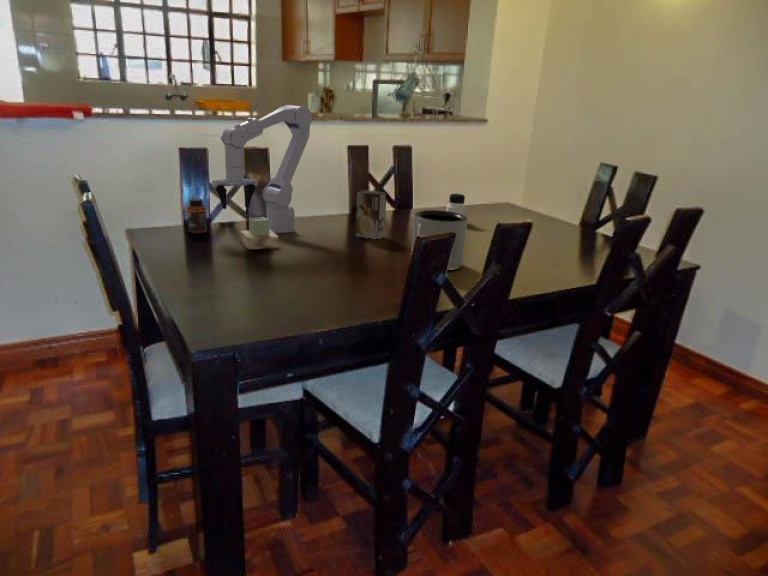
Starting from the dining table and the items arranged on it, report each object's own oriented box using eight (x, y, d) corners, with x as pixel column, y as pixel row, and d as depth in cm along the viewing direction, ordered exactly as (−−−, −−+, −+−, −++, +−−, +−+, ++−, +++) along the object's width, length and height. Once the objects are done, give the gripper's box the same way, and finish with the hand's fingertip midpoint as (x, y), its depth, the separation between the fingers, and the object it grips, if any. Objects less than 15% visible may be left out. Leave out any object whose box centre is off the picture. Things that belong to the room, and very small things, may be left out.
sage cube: (264, 231, 185) (263, 216, 183) (269, 235, 181) (269, 219, 179) (249, 232, 182) (248, 217, 181) (254, 236, 178) (253, 221, 177)
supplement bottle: (209, 230, 196) (208, 198, 192) (202, 234, 190) (201, 201, 186) (193, 229, 196) (191, 197, 193) (185, 233, 191) (183, 200, 187)
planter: (433, 255, 184) (437, 207, 178) (472, 267, 173) (478, 217, 168) (399, 263, 173) (403, 213, 168) (439, 276, 162) (444, 224, 157)
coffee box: (385, 236, 202) (387, 192, 197) (378, 240, 197) (380, 194, 191) (361, 233, 206) (364, 189, 200) (354, 236, 200) (356, 191, 195)
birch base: (270, 240, 190) (270, 229, 188) (278, 248, 181) (278, 236, 180) (240, 242, 185) (240, 230, 184) (247, 250, 177) (247, 238, 176)
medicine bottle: (464, 225, 227) (467, 196, 223) (446, 224, 227) (449, 195, 223) (462, 221, 234) (465, 193, 230) (445, 220, 234) (447, 192, 230)
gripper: (216, 168, 175) (217, 211, 180) (260, 167, 183) (261, 208, 187) (209, 165, 181) (211, 207, 185) (253, 164, 189) (253, 204, 193)
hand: (235, 207), depth 187 cm, fingers open, 7 cm apart
